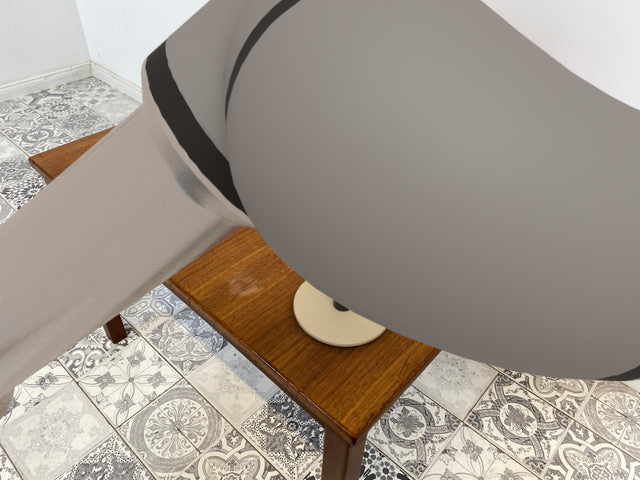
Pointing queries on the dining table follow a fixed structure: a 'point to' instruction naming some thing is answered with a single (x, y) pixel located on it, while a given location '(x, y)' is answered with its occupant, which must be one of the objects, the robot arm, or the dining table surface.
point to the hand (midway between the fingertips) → (409, 212)
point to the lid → (332, 319)
